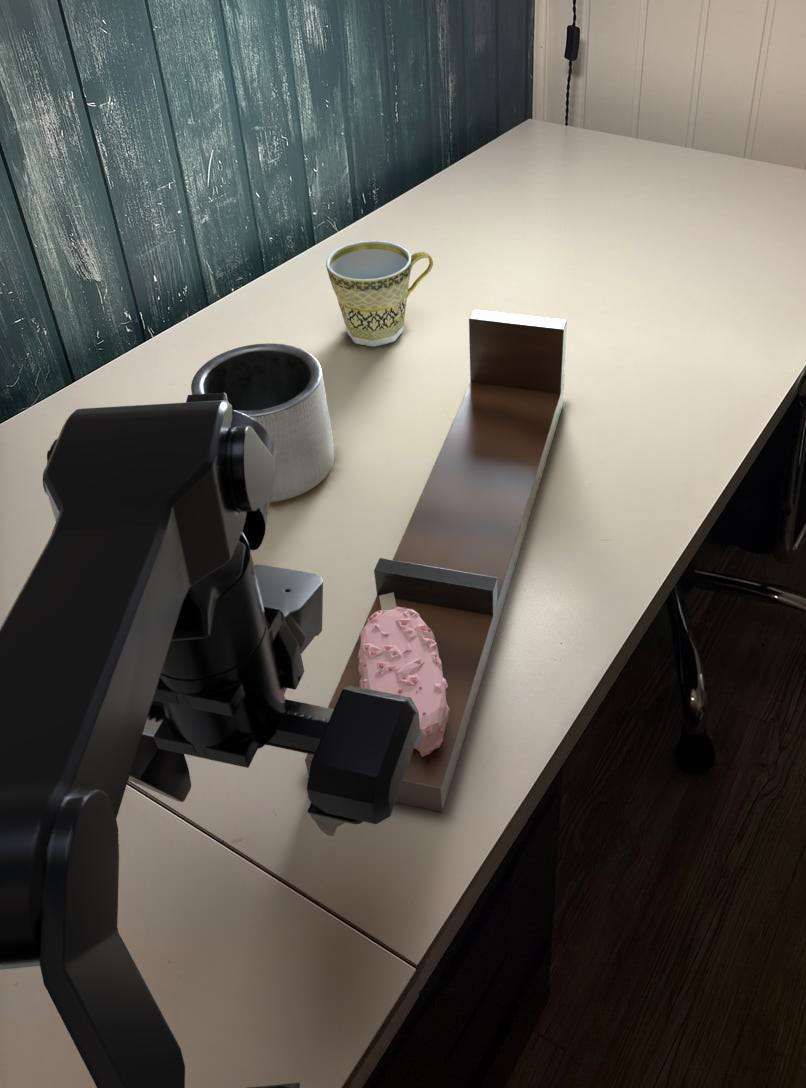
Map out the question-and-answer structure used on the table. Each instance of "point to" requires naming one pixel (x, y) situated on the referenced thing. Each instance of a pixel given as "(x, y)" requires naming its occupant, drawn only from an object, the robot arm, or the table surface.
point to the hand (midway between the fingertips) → (258, 810)
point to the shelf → (474, 521)
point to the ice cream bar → (405, 667)
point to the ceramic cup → (373, 288)
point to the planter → (278, 407)
